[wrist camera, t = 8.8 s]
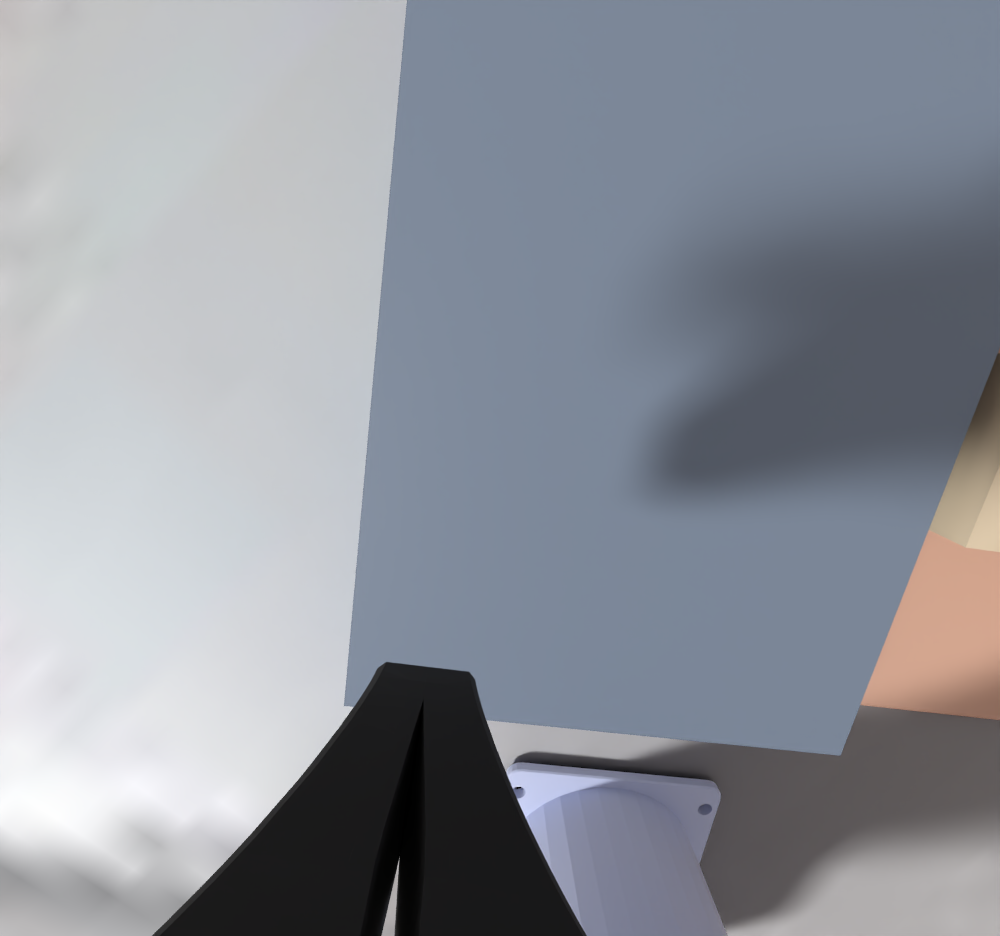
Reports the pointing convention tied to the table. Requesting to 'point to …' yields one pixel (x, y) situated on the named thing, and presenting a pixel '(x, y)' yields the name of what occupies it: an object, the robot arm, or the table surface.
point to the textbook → (674, 352)
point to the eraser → (975, 478)
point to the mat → (944, 636)
